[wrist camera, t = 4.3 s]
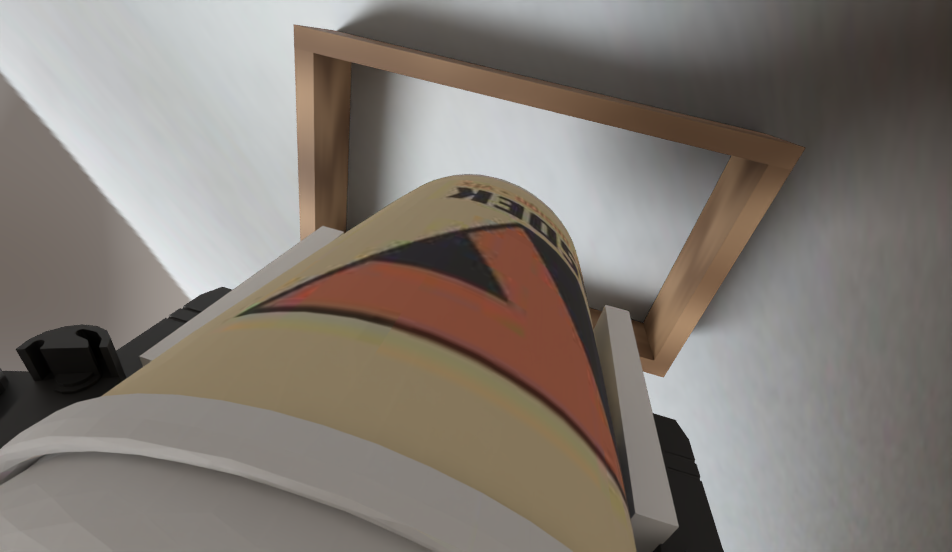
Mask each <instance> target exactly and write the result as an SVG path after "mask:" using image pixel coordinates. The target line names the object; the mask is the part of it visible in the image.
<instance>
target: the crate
mask: <svg viewBox="0 0 952 552" xmlns="http://www.w3.org/2000/svg"><path fill="white" fill-rule="evenodd" d="M294 49H295V81H296V113H297V144H298V176H299V208H300V239H301V241H302V240H303V239H305V238H306V237H308V236H309V235H310V234H312V233H313V232H315V231H316V230H317V229H319V228H320V227H322V226H325V227H329V228H332V229H336V230H339V231H343V232H344V233H346V215H347V185H348V156H349V126H350V97H351V67H352V62H353V63H357V64H361V65H365V66H369V67H373V68H377V69H381V70H385V71H389V72H393V73H398V74H402V75H406V76H410V77H414V78H418V79H422V80H426V81H430V82H434V83H438V84H442V85H446V86H450V87H455V88H459V89H463V90H467V91H471V92H475V93H479V94H483V95H487V96H491V97H495V98H499V99H503V100H507V101H512V102H516V103H520V104H524V105H528V106H532V107H536V108H540V109H544V110H548V111H552V112H556V113H560V114H565V115H569V116H573V117H577V118H581V119H585V120H589V121H593V122H597V123H601V124H605V125H609V126H613V127H617V128H622V129H626V130H630V131H634V132H638V133H642V134H646V135H650V136H654V137H658V138H662V139H666V140H670V141H674V142H679V143H683V144H687V145H691V146H695V147H699V148H703V149H707V150H711V151H715V152H719V153H723V154H727V155H732V156H731V158H730V160H729V161H728V163H727V165H726V167H725V169H724V171H723V173H722V175H721V177H720V178H719V180H718V182H717V184H716V186H715V188H714V190H713V192H712V194H711V196H710V197H709V199H708V201H707V203H706V205H705V207H704V209H703V211H702V213H701V214H700V216H699V218H698V220H697V222H696V224H695V226H694V228H693V230H692V231H691V233H690V235H689V237H688V239H687V241H686V243H685V245H684V247H683V248H682V250H681V252H680V254H679V256H678V258H677V260H676V262H675V264H674V265H673V267H672V269H671V271H670V273H669V275H668V277H667V279H666V281H665V282H664V284H663V286H662V288H661V290H660V292H659V294H658V296H657V298H656V299H655V301H654V303H653V305H652V307H651V309H650V311H649V313H648V315H647V316H646V318H645V320H644V322H643V323H642V322H638V321H635V320H631V322H632V327H633V331H634V335H635V340H636V344H637V348H638V353H639V357H640V361H641V366H642V370H643V372H647V373H650V374H654V375H657V376H660V377H664V376H665V374H666V373H667V371H668V369H669V368H670V366H671V364H672V363H673V361H674V360H675V358H676V356H677V355H678V353H679V352H680V350H681V348H682V347H683V345H684V343H685V342H686V340H687V339H688V337H689V335H690V334H691V332H692V331H693V329H694V327H695V326H696V324H697V322H698V321H699V319H700V318H701V316H702V314H703V313H704V311H705V310H706V308H707V306H708V305H709V303H710V301H711V300H712V298H713V297H714V295H715V293H716V292H717V290H718V289H719V287H720V285H721V284H722V282H723V280H724V279H725V277H726V276H727V274H728V272H729V271H730V269H731V267H732V266H733V264H734V263H735V261H736V259H737V258H738V256H739V255H740V253H741V251H742V250H743V248H744V246H745V245H746V243H747V242H748V240H749V238H750V237H751V235H752V234H753V232H754V230H755V229H756V227H757V225H758V224H759V222H760V221H761V219H762V217H763V216H764V214H765V213H766V211H767V209H768V208H769V206H770V204H771V203H772V201H773V200H774V198H775V196H776V195H777V193H778V192H779V190H780V188H781V187H782V185H783V183H784V182H785V180H786V179H787V177H788V175H789V174H790V172H791V171H792V169H793V167H794V166H795V164H796V162H797V161H798V159H799V158H800V156H801V154H802V153H803V151H804V150H805V147H802V146H799V145H796V144H794V143H791V142H788V141H785V140H782V139H779V138H776V137H773V136H771V135H768V134H765V133H761V132H756V131H752V130H748V129H744V128H740V127H736V126H731V125H727V124H723V123H719V122H715V121H710V120H706V119H702V118H698V117H694V116H690V115H685V114H681V113H677V112H673V111H669V110H665V109H660V108H656V107H652V106H648V105H644V104H640V103H635V102H631V101H627V100H623V99H619V98H615V97H610V96H606V95H602V94H598V93H594V92H590V91H585V90H581V89H577V88H573V87H569V86H564V85H560V84H556V83H552V82H548V81H544V80H539V79H535V78H531V77H527V76H523V75H519V74H514V73H510V72H506V71H502V70H498V69H494V68H489V67H485V66H481V65H477V64H473V63H469V62H464V61H460V60H456V59H452V58H448V57H444V56H439V55H435V54H431V53H427V52H423V51H418V50H414V49H410V48H406V47H402V46H398V45H393V44H389V43H385V42H381V41H377V40H373V39H368V38H364V37H360V36H356V35H352V34H348V33H343V32H339V31H334V30H328V29H321V28H314V27H307V26H300V25H294ZM589 310H590V315H591V320H592V325H593V330H594V328H595V326H596V323H597V321H598V319H599V317H600V315H601V313H602V311H599V310H596V309H592V308H589Z"/></svg>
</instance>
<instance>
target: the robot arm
mask: <svg viewBox="0 0 952 552" xmlns="http://www.w3.org/2000/svg"><path fill="white" fill-rule="evenodd" d="M343 234H344V232H343V231H339V230H336V229H332V228H329V227H325V226H322V227H320V228H319V229H317V230H316V231H315V232H313V233H312V234H310V235H309V236H308V237H306V238H305V239H303V240H302V241H301V242H299V243H298V244H296V245H295V246H294V247H292V248H291V249H289V250H288V251H287V252H285V253H284V254H282V255H281V256H279V257H278V258H277V259H275V260H274V261H272V262H271V263H270V264H268V265H267V266H265V267H264V268H263V269H261V270H260V271H258V272H257V273H256V274H254V275H253V276H251V277H250V278H249V279H247V280H246V281H244V282H243V283H242V284H240V285H239V286H237V287H236V288H235V289H233V290H231V289H228V288H225V287H221V288H218V289H215V290H212V291H210V292H207V293H204V294H201V295H200V296H198V297H196V298H195V299H193V300H192V301H190V302H189V303H187V304H186V305H184V306H183V309H178V310H177V311H175V312H174V313H172V314H171V315H170V316H169V318H168V319H167V318H165V319H163V320H162V321H160V322H159V323H157V324H156V325H154V326H153V327H151V328H150V329H149V330H147V331H145V332H144V333H142V334H141V335H139V336H138V337H136V338H135V339H133V340H132V341H130V342H129V343H127V344H126V345H124V346H123V347H121V348H120V349H118V350H117V351H116V350H115V348H114V346H113V343H112V341H111V338H110V336H109V334H108V332H107V330H104V329H102V328H100V327H98V326H91V325H74V326H65V327H61V328H58V329H54V330H50V331H46V332H44V333H42V334H40V335H37V336H35V337H33V338H31V339H29V340H28V341H26V342H25V343H23V344H22V345H21V346H19V347H18V348H17V349H16V350H17V352H18V354H19V356H20V358H21V359H22V361H23V362H24V364H25V366H26V368H27V370H28V371H29V372H24V371H23V372H22V371H2V370H1V368H0V449H1V448H2V447H3V446H4V445H6V444H7V443H8V442H9V441H11V440H12V439H13V438H14V437H16V436H17V435H18V434H19V433H21V432H23V431H24V430H26V429H28V428H29V427H31V426H33V425H34V424H36V423H38V422H39V421H41V420H43V419H44V418H46V417H48V416H49V415H51V414H53V413H54V412H56V411H58V410H61V409H63V408H65V407H67V406H70V405H72V404H74V403H77V402H81V401H85V400H89V399H94V398H98V397H101V396H102V395H104V394H105V393H107V392H108V391H109V390H111V389H112V388H114V387H115V386H117V385H118V384H120V383H121V382H122V381H124V380H125V379H127V378H128V377H130V376H131V375H132V374H134V373H135V372H137V371H138V370H140V369H141V368H142V367H144V366H145V365H147V364H148V363H150V362H151V361H152V360H154V359H155V358H157V357H158V356H160V355H161V354H162V353H164V352H165V351H167V350H168V349H170V348H171V347H172V346H174V345H175V344H177V343H178V342H180V341H181V340H182V339H184V338H185V337H187V336H188V335H190V334H191V333H193V332H194V331H196V330H197V329H199V328H200V327H202V326H203V325H205V324H206V323H208V322H209V321H211V320H213V319H214V318H216V317H217V316H219V315H220V314H222V313H223V312H225V311H226V310H228V309H229V308H231V307H232V306H234V305H235V304H237V303H238V302H240V301H242V300H243V299H245V298H246V297H248V296H249V295H251V294H252V293H254V292H255V291H257V290H258V289H260V288H261V287H263V286H264V285H266V284H268V283H269V282H271V281H272V280H274V279H275V278H277V277H278V276H280V275H281V274H283V273H284V272H286V271H287V270H289V269H290V268H292V267H293V266H295V265H297V264H298V263H300V262H301V261H303V260H304V259H306V258H307V257H309V256H310V255H312V254H313V253H315V252H316V251H318V250H319V249H321V248H322V247H324V246H326V245H327V244H329V243H330V242H332V241H333V240H335V239H337V238H338V237H340V236H341V235H343ZM594 334H595V339H596V344H597V349H598V354H599V359H600V363H601V368H602V373H603V379H604V384H605V389H606V394H607V399H608V404H609V409H610V414H611V419H612V424H613V429H614V434H615V439H616V444H617V449H618V454H619V459H620V464H621V470H622V475H623V480H624V485H625V490H626V496H627V502H628V507H629V513H630V518H631V524H632V529H633V535H634V540H635V546H636V551H637V552H724V551H723V548H722V545H721V542H720V539H719V536H718V532H717V529H716V526H715V523H714V520H713V516H712V513H711V510H710V507H709V503H708V500H707V497H706V494H705V490H704V487H703V484H702V481H700V474H699V471H698V468H697V465H696V464H695V463H694V461H695V458H694V455H693V452H692V448H691V445H690V442H689V439H688V438H687V436H686V435H685V433H684V432H683V430H682V429H681V428H680V426H679V425H678V423H677V422H676V420H674V419H670V418H667V417H664V416H660V415H657V414H654V413H652V409H651V404H650V400H649V396H648V391H647V387H646V383H645V378H644V374H643V370H642V366H641V361H640V357H639V353H638V348H637V344H636V340H635V335H634V331H633V327H632V322H631V318H630V314H629V311H626V310H623V309H619V308H616V307H612V306H608V305H605V306H604V308H603V311H602V313H601V315H600V317H599V319H598V321H597V323H596V326H595V328H594Z"/></svg>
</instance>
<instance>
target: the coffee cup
mask: <svg viewBox="0 0 952 552" xmlns="http://www.w3.org/2000/svg"><path fill="white" fill-rule="evenodd" d="M0 552H637V551H636V546H635V540H634V535H633V529H632V524H631V518H630V513H629V507H628V502H627V496H626V490H625V485H624V480H623V475H622V470H621V464H620V459H619V454H618V449H617V444H616V439H615V434H614V429H613V424H612V419H611V414H610V409H609V404H608V399H607V394H606V389H605V384H604V379H603V373H602V368H601V363H600V359H599V354H598V349H597V344H596V339H595V334H594V330H593V325H592V320H591V315H590V310H589V305H588V301H587V296H586V291H585V286H584V281H583V277H582V273H581V268H580V265H579V261H578V257H577V254H576V250H575V247H574V245H573V242H572V239H571V237H570V235H569V233H568V232H567V230H566V228H565V227H564V225H563V224H562V222H561V221H560V220H559V218H558V217H557V216H556V215H555V214H554V212H553V211H552V210H551V209H550V208H549V207H548V206H547V205H546V204H545V203H543V202H542V201H541V200H540V199H538V198H537V197H536V196H534V195H533V194H532V193H530V192H528V191H527V190H525V189H523V188H521V187H520V186H517V185H515V184H512V183H510V182H508V181H505V180H502V179H498V178H494V177H489V176H484V175H473V174H464V175H453V176H448V177H444V178H440V179H436V180H433V181H431V182H428V183H426V184H424V185H422V186H420V187H418V188H417V189H415V190H413V191H411V192H409V193H408V194H406V195H404V196H402V197H401V198H399V199H397V200H396V201H394V202H393V203H391V204H390V205H388V206H386V207H385V208H383V209H382V210H380V211H379V212H377V213H376V214H374V215H372V216H371V217H369V218H368V219H366V220H365V221H363V222H361V223H360V224H358V225H357V226H355V227H354V228H352V229H351V230H349V231H347V232H346V233H344V234H343V235H341V236H340V237H338V238H337V239H335V240H333V241H332V242H330V243H329V244H327V245H326V246H324V247H322V248H321V249H319V250H318V251H316V252H315V253H313V254H312V255H310V256H309V257H307V258H306V259H304V260H303V261H301V262H300V263H298V264H297V265H295V266H293V267H292V268H290V269H289V270H287V271H286V272H284V273H283V274H281V275H280V276H278V277H277V278H275V279H274V280H272V281H271V282H269V283H268V284H266V285H264V286H263V287H261V288H260V289H258V290H257V291H255V292H254V293H252V294H251V295H249V296H248V297H246V298H245V299H243V300H242V301H240V302H238V303H237V304H235V305H234V306H232V307H231V308H229V309H228V310H226V311H225V312H223V313H222V314H220V315H219V316H217V317H216V318H214V319H213V320H211V321H209V322H208V323H206V324H205V325H203V326H202V327H200V328H199V329H197V330H196V331H194V332H193V333H191V334H190V335H188V336H187V337H185V338H184V339H182V340H181V341H180V342H178V343H177V344H175V345H174V346H172V347H171V348H170V349H168V350H167V351H165V352H164V353H162V354H161V355H160V356H158V357H157V358H155V359H154V360H152V361H151V362H150V363H148V364H147V365H145V366H144V367H142V368H141V369H140V370H138V371H137V372H135V373H134V374H132V375H131V376H130V377H128V378H127V379H125V380H124V381H122V382H121V383H120V384H118V385H117V386H115V387H114V388H112V389H111V390H109V391H108V392H107V393H105V394H104V395H102V396H101V397H98V398H94V399H89V400H85V401H81V402H77V403H74V404H72V405H70V406H67V407H65V408H63V409H61V410H58V411H56V412H54V413H53V414H51V415H49V416H48V417H46V418H44V419H43V420H41V421H39V422H38V423H36V424H34V425H33V426H31V427H29V428H28V429H26V430H24V431H23V432H21V433H19V434H18V435H17V436H16V437H14V438H13V439H12V440H11V441H9V442H8V443H7V444H6V445H4V446H3V447H2V448H1V449H0Z"/></svg>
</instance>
